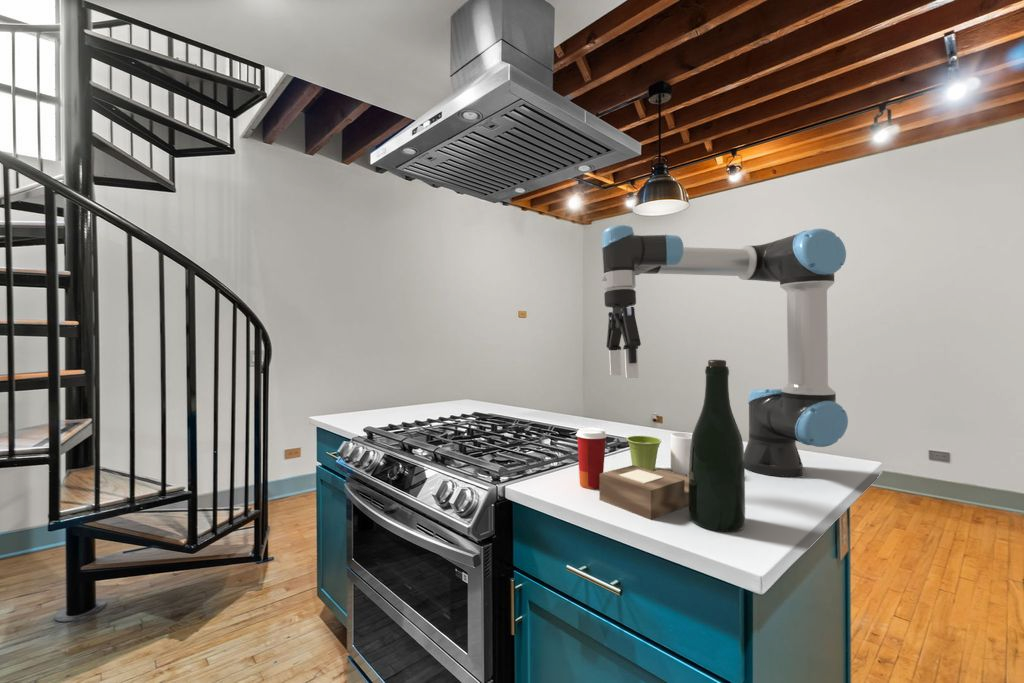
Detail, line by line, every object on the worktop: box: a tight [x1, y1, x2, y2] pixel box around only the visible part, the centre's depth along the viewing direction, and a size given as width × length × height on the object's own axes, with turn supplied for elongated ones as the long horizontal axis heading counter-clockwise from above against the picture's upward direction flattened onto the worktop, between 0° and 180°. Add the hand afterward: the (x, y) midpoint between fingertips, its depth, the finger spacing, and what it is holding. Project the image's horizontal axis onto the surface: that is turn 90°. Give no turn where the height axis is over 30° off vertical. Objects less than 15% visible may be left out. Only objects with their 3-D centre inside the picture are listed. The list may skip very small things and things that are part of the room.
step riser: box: [598, 464, 689, 520], centre depth 104 cm, size 24×14×6 cm, turn 126°
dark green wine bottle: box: [687, 359, 746, 532], centre depth 90 cm, size 10×10×33 cm
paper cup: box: [575, 427, 608, 490], centre depth 112 cm, size 8×8×14 cm
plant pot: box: [626, 435, 662, 471], centre depth 126 cm, size 9×9×9 cm
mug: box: [670, 431, 693, 476], centre depth 123 cm, size 12×8×10 cm
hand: (623, 376), depth 109 cm, fingers open, 13 cm apart
